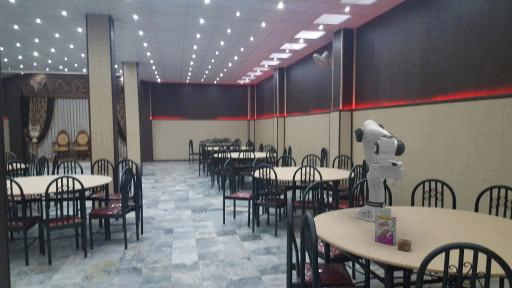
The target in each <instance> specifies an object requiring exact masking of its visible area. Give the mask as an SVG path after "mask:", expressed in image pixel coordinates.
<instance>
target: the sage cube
mask: <svg viewBox="0 0 512 288" xmlns="http://www.w3.org/2000/svg"><path fill="white" fill-rule="evenodd" d="M380 216H383V217H390V216H392V208H389V207H386V206H385V207H383V208H381V211H380Z"/></svg>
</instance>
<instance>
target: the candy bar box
mask: <svg viewBox="0 0 512 288" xmlns="http://www.w3.org/2000/svg"><path fill="white" fill-rule="evenodd" d="M374 226H375V228H374V229H375V230H374V231H375V232H374V235H375V237H374V242H378V243H381V244H386V245H390V246H394V245H395V244H396V243H397V216H392V215H391V216H390V217H383V216H380V214H377V215H376V222H375V225H374Z"/></svg>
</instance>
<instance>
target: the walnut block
mask: <svg viewBox="0 0 512 288" xmlns="http://www.w3.org/2000/svg"><path fill="white" fill-rule="evenodd" d="M411 249H412V240H410V239H406V238H399V239H398V241H397V251H400V252H407V253H410V251H412V250H411Z"/></svg>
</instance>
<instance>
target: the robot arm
mask: <svg viewBox="0 0 512 288" xmlns="http://www.w3.org/2000/svg"><path fill="white" fill-rule="evenodd" d="M353 138H354V140H355V142H357V143H362V150H363V154H364V159H365V162H366V164H367V166H368V168H369V171H367V173H366V180H367V185H368V186H367V187H368V200H366V201H365V203H366V204H365V205H364V206H363V207H361V208H359V210H358V214H355V218H356V219H360V220H364V221H367V222H371V223H373V222H376V215H377V214H380V211H381V208H383V207H385V208H386V201H385V198H386V195H385V193H386V192H385V188H384V180H386V179H390V180H391V179H393V180H394V182H393V183H392V187H396V186H397V183H398V182H399V180H400V181H401V180H404V179H405V178H406V175H405V167H403V166H404V162H403V161H400V160H397V159H396V157H401V156H402V155H403V154H404V153H405V151H406V146H405V144H404V142H403V140H401V139H398V138H397V137H396V136H395V135H394V134H392V133H391V132H389V131H388V130H386V129H385V127H384V125H383V124H382V123H377V122H376V121H374V120H373V119H367V120H365V121H364V122H363V123H362V127H358V128H356V129H355V130H354V131H353Z"/></svg>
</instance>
